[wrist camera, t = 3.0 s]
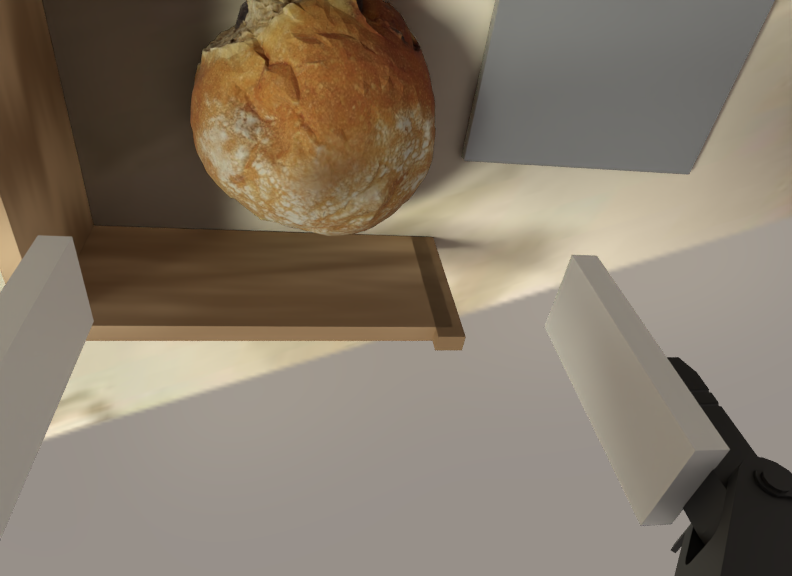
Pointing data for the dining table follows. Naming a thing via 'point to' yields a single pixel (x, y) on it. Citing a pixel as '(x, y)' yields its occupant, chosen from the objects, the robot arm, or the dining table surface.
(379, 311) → the box
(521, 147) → the slate board
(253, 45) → the bread roll
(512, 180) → the dining table surface
